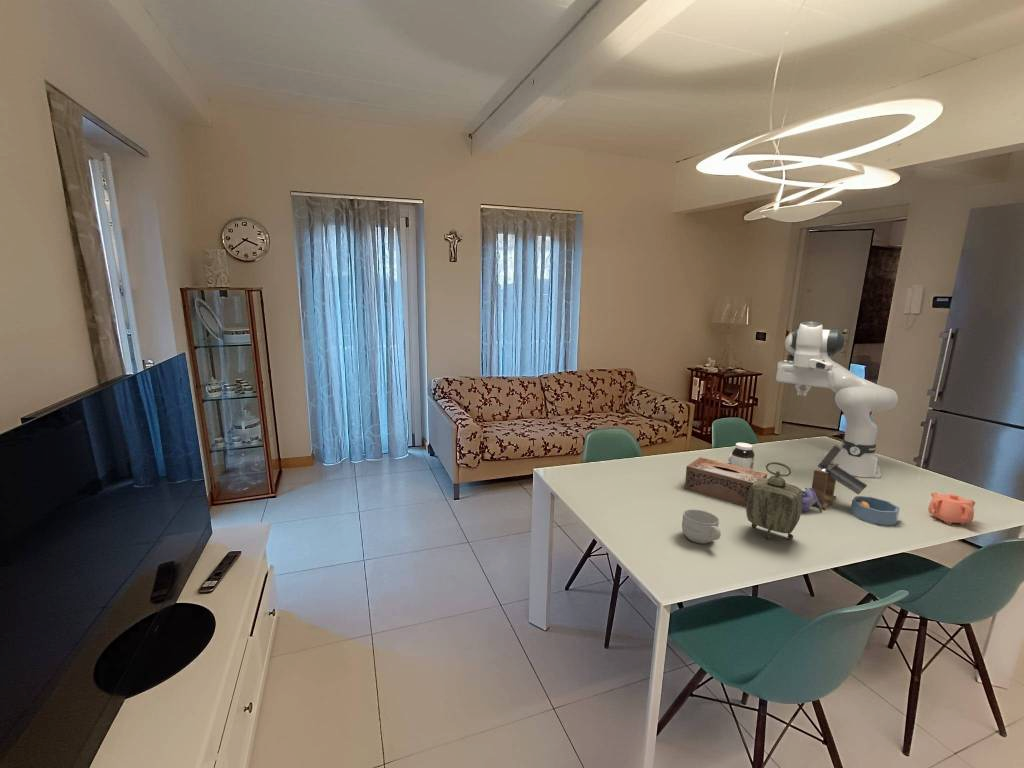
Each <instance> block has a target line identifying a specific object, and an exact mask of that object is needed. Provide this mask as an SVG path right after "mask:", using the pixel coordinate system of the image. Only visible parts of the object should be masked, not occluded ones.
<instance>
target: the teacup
mask: <svg viewBox="0 0 1024 768" xmlns="http://www.w3.org/2000/svg"><path fill="white" fill-rule="evenodd" d="M719 523H720V518H719V517H718V516H717V515H715V514H714V513H712V512H709V511H706V510H702V509H696V508H695V509H694V508H689V509H685V510H684V511H682V521H681V530H682V533H683V534H684V535H685V536H686V537H687V539H688V540H689V541H691V542H693V543H697V544H708V543H711V542H713V541H716V540H719V539H720V538H721V535H722V534H721V533H722V532H721V529H720V528H719Z"/></svg>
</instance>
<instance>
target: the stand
mask: <svg viewBox="0 0 1024 768" xmlns="http://www.w3.org/2000/svg"><path fill="white" fill-rule="evenodd" d="M833 464H835V463H834V462H831V463H830V465H833ZM835 465H836V466H838V464H835ZM821 470H822V469H816V468H815V469H814V470H813V477H812V484H811V488H812V489H813V490H814V492H815V494H816V496H817V498H818V500H819V503H820V505H821V507H822V511H826V510H827V509H828V508H829V507H830V506H831V505H832V504H833V503H834V502H835V501H836V500H837V496H836V495H835V488H836V482H837V480H835V479H833V478H832V477H830V476H829V475H828V472H825V471H821ZM811 507H813V508H817V509H819V508H818V506H817V505H815V504H814V505H812V506H811Z"/></svg>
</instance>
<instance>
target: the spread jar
mask: <svg viewBox="0 0 1024 768" xmlns="http://www.w3.org/2000/svg"><path fill="white" fill-rule="evenodd" d="M753 447H754V446H753V445H752V444H750V443H746V442H736V443H735V447H734V449H732V452H731V453H729V454H728V457H727V462H729V464H731V465H735V466H739V467H744V468H748V469H752V470H753V467H754V462H755V452H754V450H753Z"/></svg>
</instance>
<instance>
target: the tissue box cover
mask: <svg viewBox="0 0 1024 768" xmlns="http://www.w3.org/2000/svg"><path fill="white" fill-rule="evenodd" d="M685 469H686V470H685V478H684V481H685V482H684V490H686V491H691V492H694V493H698V494H702V495H705V496H708V497H711V498H716V499H719V500H721V501H725V502H729V503H733V504H736V505H738V506H743V507H746V502H747V497H748V492H749V490H750V488H751V486H752V485H753V484H754V483H755V482H756V481H757V480H758V479H759V478H768V472H766V471H765V472H763V471H759V470H755V469H753V468H752V469H748V468H744V467H739V466H735V465H731V463H726V462H722V461H717V460H713V459H709V458H707V457H706V458H705V457H702V456H701V457H698V458H697V459H695V460H694V461H692V462H690V463H689V464H688V465H686V467H685Z"/></svg>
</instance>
